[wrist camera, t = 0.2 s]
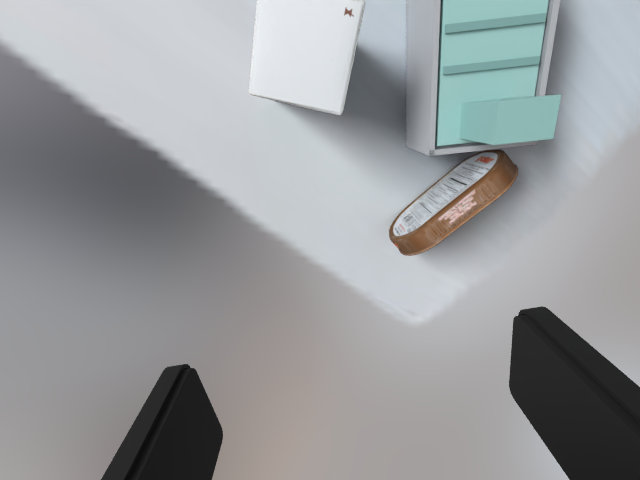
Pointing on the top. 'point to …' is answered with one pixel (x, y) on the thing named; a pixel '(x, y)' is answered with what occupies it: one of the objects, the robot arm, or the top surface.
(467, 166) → the tin
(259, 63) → the supplement box
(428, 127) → the grey open box
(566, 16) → the top surface
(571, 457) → the robot arm
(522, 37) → the mint ridged stand
